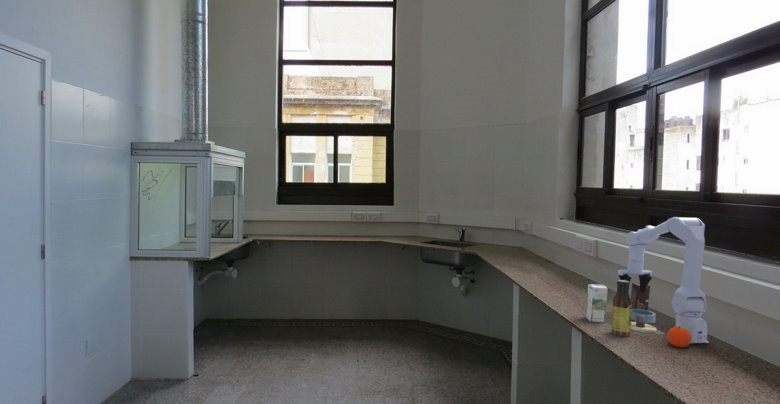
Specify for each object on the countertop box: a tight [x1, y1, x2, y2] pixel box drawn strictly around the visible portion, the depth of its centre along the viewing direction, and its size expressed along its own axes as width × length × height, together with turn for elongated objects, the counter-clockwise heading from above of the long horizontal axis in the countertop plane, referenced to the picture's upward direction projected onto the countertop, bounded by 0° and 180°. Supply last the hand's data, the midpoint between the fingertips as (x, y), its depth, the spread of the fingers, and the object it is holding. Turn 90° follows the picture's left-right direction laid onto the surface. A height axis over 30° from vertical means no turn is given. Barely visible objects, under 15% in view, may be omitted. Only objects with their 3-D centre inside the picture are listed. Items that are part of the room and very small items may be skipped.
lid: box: [631, 315, 657, 335], centre depth 169 cm, size 11×11×5 cm
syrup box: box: [585, 283, 609, 323], centre depth 178 cm, size 6×6×14 cm
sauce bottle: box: [611, 279, 632, 338], centre depth 162 cm, size 6×6×20 cm
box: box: [630, 282, 651, 311], centre depth 196 cm, size 6×4×12 cm
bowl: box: [631, 309, 657, 324], centre depth 181 cm, size 9×9×4 cm
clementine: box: [666, 326, 695, 348], centre depth 151 cm, size 8×7×7 cm
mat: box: [630, 329, 666, 336], centre depth 169 cm, size 12×12×1 cm
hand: (634, 292), depth 188 cm, fingers open, 7 cm apart
